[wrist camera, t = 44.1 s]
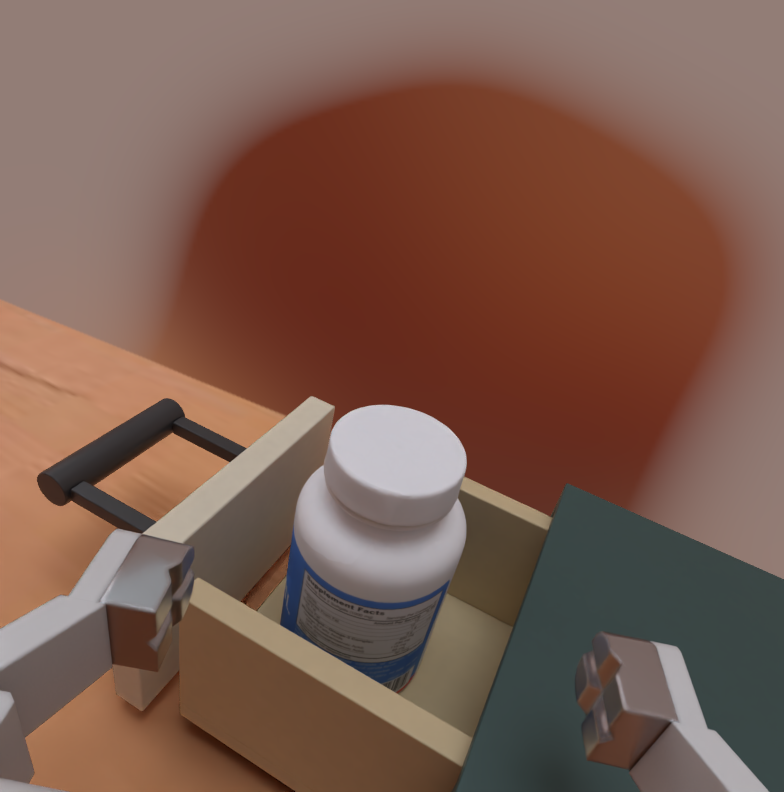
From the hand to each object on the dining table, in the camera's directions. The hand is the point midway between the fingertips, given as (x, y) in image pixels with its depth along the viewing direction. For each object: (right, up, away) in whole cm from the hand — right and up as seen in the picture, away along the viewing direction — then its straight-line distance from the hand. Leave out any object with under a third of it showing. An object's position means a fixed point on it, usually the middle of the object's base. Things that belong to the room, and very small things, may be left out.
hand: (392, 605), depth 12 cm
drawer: (-4, -5, +12) cm, 13 cm away
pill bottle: (-2, -5, +11) cm, 12 cm away
